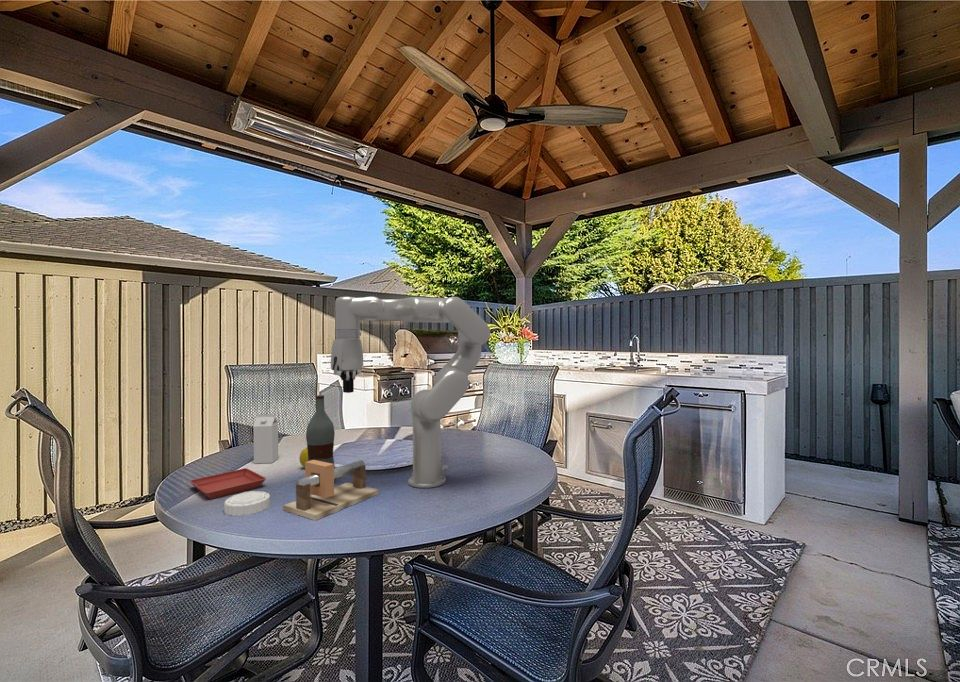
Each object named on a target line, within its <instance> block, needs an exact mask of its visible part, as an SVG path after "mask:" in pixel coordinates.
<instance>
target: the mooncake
mask: <svg viewBox="0 0 960 682" xmlns="http://www.w3.org/2000/svg"><path fill="white" fill-rule="evenodd" d="M223 504H224V505H223V507H224V508H223V511H224V514H225V515H227V516H233V517H236V516H238V517H241V516H249V515H254V514H257V513H261V512H263V511H264V510H267V509H268V508H270V506H271V495H270V493H269V492H266V491H257V490H256V491H255V490H251V491H243V492H240V493H236V494H234V495H233V494H232V496H230V497H228V498H226V499H225V501H224V502H223Z"/></svg>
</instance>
